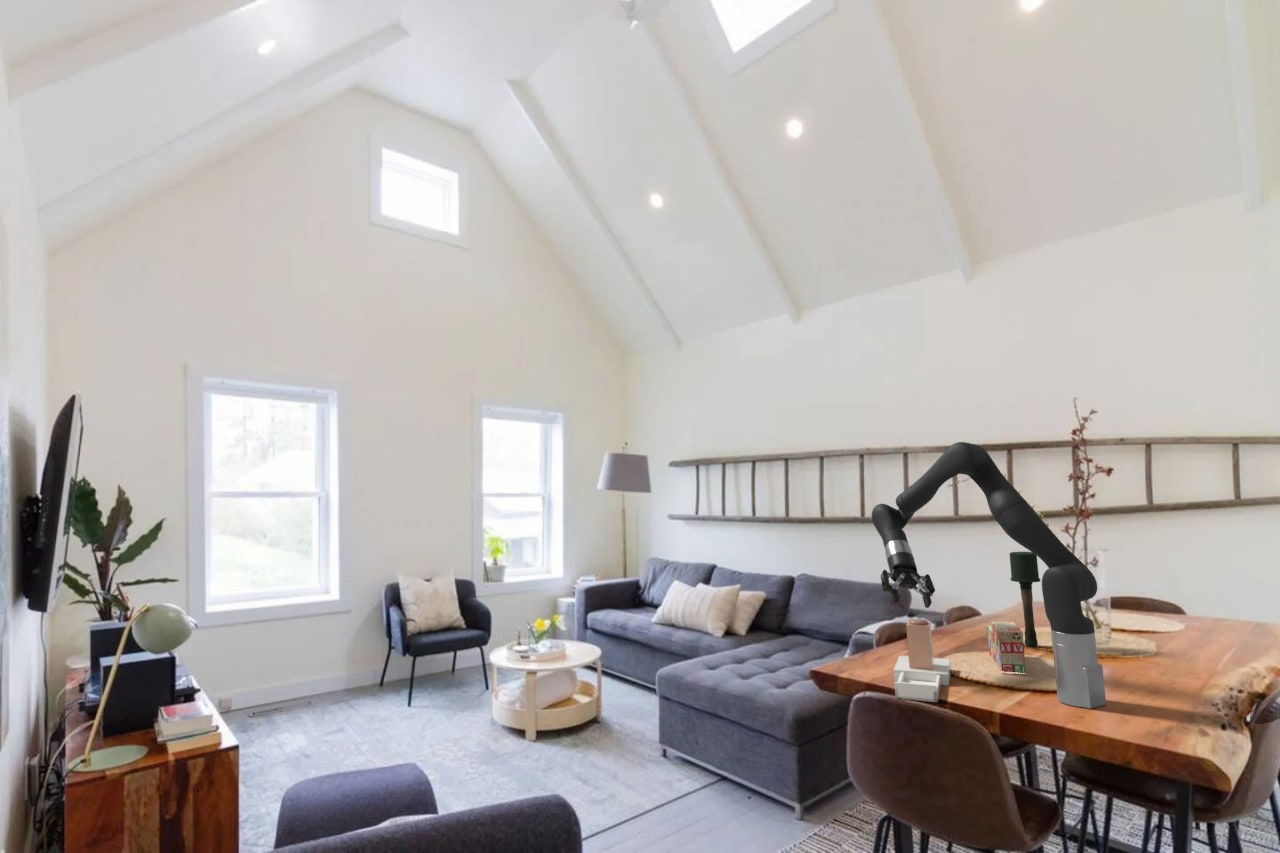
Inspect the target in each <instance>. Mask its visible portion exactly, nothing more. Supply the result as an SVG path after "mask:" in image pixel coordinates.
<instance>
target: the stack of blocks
mask: <svg viewBox="0 0 1280 853" xmlns="http://www.w3.org/2000/svg"><path fill="white" fill-rule="evenodd" d="M986 633H987V639H988V640H987V641H988V642H987V643H988V647H989V648H988V649H989V655H990V658H993V659H992V660H994V661H995V662H996V663H997V665H998V666H997V665H996V666H997V668H998V667H999V668H1000V670H1001V671H1004V672H1018V673H1019V672H1020V673H1026V674H1027V669H1026V668H1027V667H1026V659H1025V657H1026V656H1025V642H1024V631H1023V630H1022V629H1021V628H1020V627H1019V626H1018V625H1017V624H1016V623H1015V622H1014V621H990V625H989V624H988V625H986ZM994 661H993V662H994ZM995 662H994V663H995ZM996 663H995V664H996ZM999 668H998V669H999ZM1000 670H999V671H1000Z"/></svg>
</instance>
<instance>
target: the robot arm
mask: <svg viewBox="0 0 1280 853" xmlns="http://www.w3.org/2000/svg"><path fill="white" fill-rule="evenodd" d="M958 475H966V476H968V477H969V478H970V479H971V480H972V481H973V482H974V483H975V484H976V485H977V486H978V487H979V489H980V490H981V491H982V492H983V493H984V496H985V499H986V502H987V505H988V508H989V511H990V513H991V515H992V517H993V518H994V519H995V521H996V523H998V525H999V526H1000V527H1001V528H1002V530H1003V532H1005V534H1006V535H1007V536H1009V538H1011V539H1012V540H1013V541H1015V542H1016V543H1017V544H1018V545H1021V546H1022V547H1024V548H1025V549H1026V550H1028V551H1029V552H1033V553H1034V554H1035V555H1037V558H1039V559H1040V560H1041V561H1042V562H1043V563H1044V564H1045V565H1046V566H1047V568H1048V569H1047V568H1046V570H1045V571H1044V573H1043V574H1042V578H1041V591H1042V598H1043V605H1044V611H1045V615H1046V618H1047V620H1048V622H1049V624H1050V633H1051V643H1052V655H1053V663H1054V665H1053V666H1054V675H1055V677H1054V678H1055V686H1056V687H1055V688H1056V694H1057V696H1056V697H1057V700H1058V701H1059V702H1060V703H1063V704H1065V705H1068V706H1073V707H1078V708H1081V707H1082V708H1086V709H1094V708H1098V707H1101V706H1105V705H1107V699H1106V698H1107V697H1106V689H1105V680H1104V679H1105V678H1104V668H1103V665H1102V664H1101V663H1099V661H1098V653H1097V652H1098V651H1097V642H1096V641H1097V639H1096V632H1095V622H1094V621H1093V620H1092V619H1091V618H1090V617H1087V616H1085V615H1084V613H1083V609H1082V608H1083V607H1082V602H1085V601H1088V600H1091V599H1093V598H1094V597H1095V596H1096V595H1097V593H1098V583H1097V579H1096V577H1095V575H1094V573H1093V572H1092V571H1091V570H1090V569H1089V568H1088V567H1087V566H1086V564H1084V563H1083V562H1082V561H1081V560H1080V559H1079V558H1078V557H1077V556H1076V555H1075V554H1074V553H1073V552H1071V550H1070V549H1069V548H1067V547H1066V546H1065V545H1064V544H1063V542H1062V541H1061V540H1060V539H1059V538H1058V537H1057V535H1056V534H1055V533H1054V532H1053V531H1052V530H1051V529H1050V528H1049V526H1048V525H1047V524H1046V523H1045V522H1044V521H1043V519H1042V518H1041V517H1040V516H1039V514H1038V513H1037V512H1036V511H1035V509H1034V508H1033V507H1032V506H1031V505H1030V504H1029V502H1028V501H1027V500H1026V499H1025V498H1024V497H1023V496H1022V495H1021V494H1020V492H1019V491H1017V489H1016V488H1015V487H1014V486H1013V485H1012V484H1011V482H1010V481H1009V480H1008V479H1006V477H1005V476H1004V475H1003V473H1002V472H1001V470H1000V469H999V468H998V466H997V464H996V463H995V461H994V460H993V459H992V457H991V455H990V454H989V453H988V452H987V450H986V449H985V448H984V447H982V446H980V445H978V444H974V443H970V442H964V441H963V442H962V441H958V442H955V443H953V444H952V445H950V446H949V447H948V448H947V449H946V450H945V451H944V452H943V453H942V454H941V455H940V457H939V458H938V459H937V460H936V461H935V462H934V463H933V464H932V465H931V466H930V468H929V469H928V470H927V471H925V473H924V474H922V475H921V477H919V478H918V479H917V480H916V481H914V483H913V484H911V485H910V486H908V487H907V488H906V489H904V491H902V492H901V493H900V494H898V495H897V496H896V498H895V504H896V506H897V509H896V508H894V507H892V506H890V505H889V504H886V503H879V504H876V505H875V506H874V507H873V509H872V512H871V521H872V524H873V526H874V528H875V530H876V532H877V533H878V534H879V536H880V537H881V539H882V544H883V546H884V551H885V552H884V553H885V559H886V560H887V565H888V568H889V569H888V570H889V572H888V571H887V570H886V569H883V570H882V572H881V573H880V580H881V586H882V590H883V592H888V593H890V595H891V601H892V602H893V603H894V604H895V605H899V604H900V602H901V598H900V594H899V591H898V588H899V587H900V588H901V589H907V590H913V591H914V592H915V593H917V594H919V595H920V596H922V600H923V601H922V602H923V604H924V607H925V609H928V608H930V607H931V605H932V603H933V601H932V599H931V597H933V596H934V593H935V592H936V588H935V586H934V582H933V581H932V578H931V576H930V574H927V573H926V574H925V575H920V574H919V573H918V568H917V565H916V562H915V558H914V554H913V551H912V548H911V546H910V545H909V541H908V537H907V535H906V533H905V531H904V530H903V529H904V528H905V527H906V525H908V523H909V521H910V520H911V519H912V517H913V516H914V514H915V513H916V512H918V511H919V510H920V509H922V508H923V507H925V506H926V505H927V504H929V503H930V502H931V500H933V498H934V497H935V495H936V494H937V492H938V491H939V489H940V487H942V486H943V485H944V484H945V483H946V482H947V481H950V479H953V478H954V477H956V476H958ZM890 579H891V580H892V581H893V582H894V583H893V585H890ZM917 586H918V587H917Z"/></svg>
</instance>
